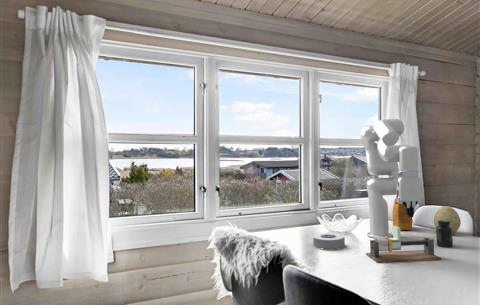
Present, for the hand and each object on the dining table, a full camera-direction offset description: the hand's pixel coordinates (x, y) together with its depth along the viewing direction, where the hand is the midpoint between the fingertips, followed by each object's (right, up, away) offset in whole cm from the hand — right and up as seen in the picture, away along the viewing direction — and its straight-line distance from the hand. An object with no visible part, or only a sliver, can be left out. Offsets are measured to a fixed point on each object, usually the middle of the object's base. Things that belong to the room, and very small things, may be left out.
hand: (409, 216), depth 159 cm
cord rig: (-4, -18, -1) cm, 18 cm away
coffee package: (+21, -17, +55) cm, 61 cm away
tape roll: (-30, -19, +23) cm, 42 cm away
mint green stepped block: (-7, -14, -1) cm, 16 cm away
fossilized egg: (+39, -17, +39) cm, 58 cm away
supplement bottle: (+24, -17, +15) cm, 33 cm away
